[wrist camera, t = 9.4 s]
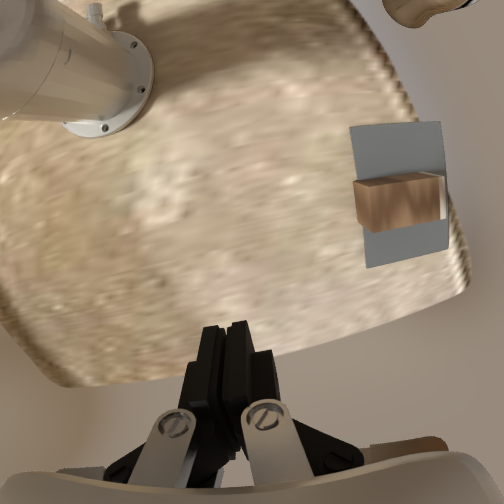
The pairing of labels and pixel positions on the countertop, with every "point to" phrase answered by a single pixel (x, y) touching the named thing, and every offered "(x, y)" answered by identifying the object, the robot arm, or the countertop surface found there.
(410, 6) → the beer glass
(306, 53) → the countertop surface
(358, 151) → the grey mat
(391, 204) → the walnut block
